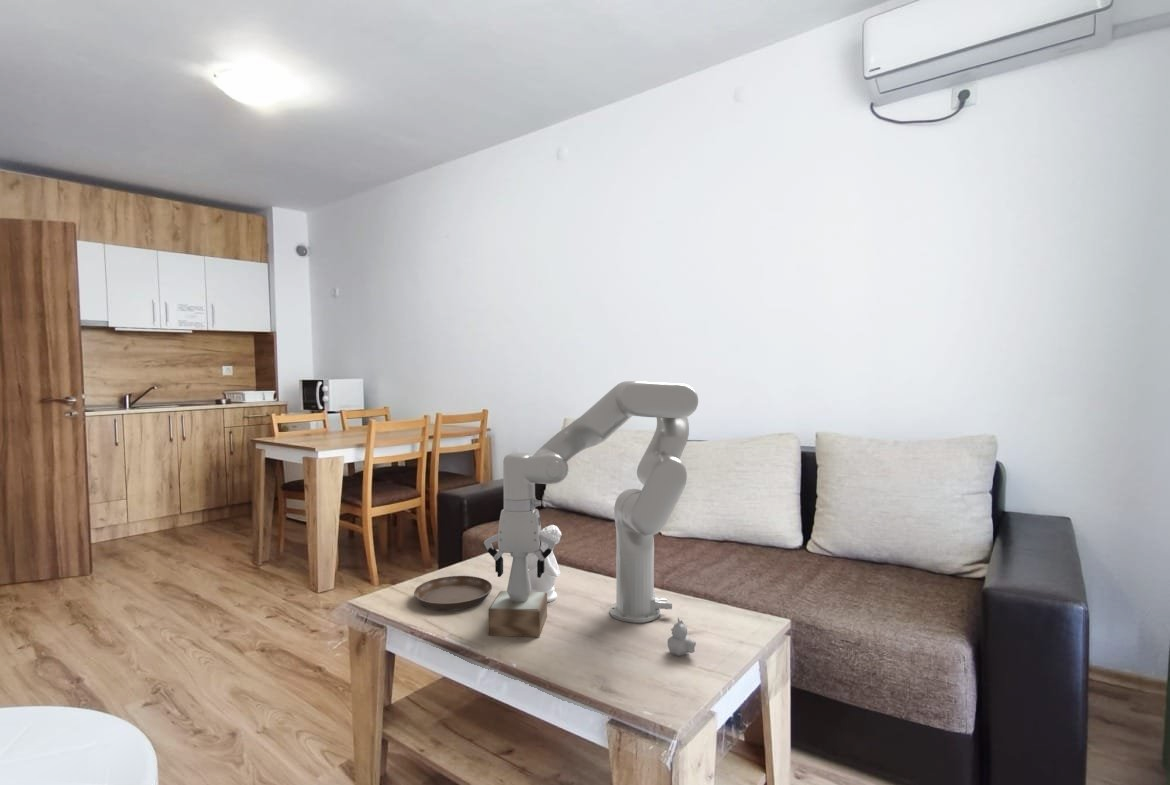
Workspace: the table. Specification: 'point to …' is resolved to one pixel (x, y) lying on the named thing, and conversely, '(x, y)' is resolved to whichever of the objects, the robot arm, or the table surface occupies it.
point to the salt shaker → (519, 578)
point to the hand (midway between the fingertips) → (520, 575)
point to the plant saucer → (453, 592)
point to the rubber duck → (680, 640)
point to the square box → (517, 615)
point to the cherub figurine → (545, 566)
